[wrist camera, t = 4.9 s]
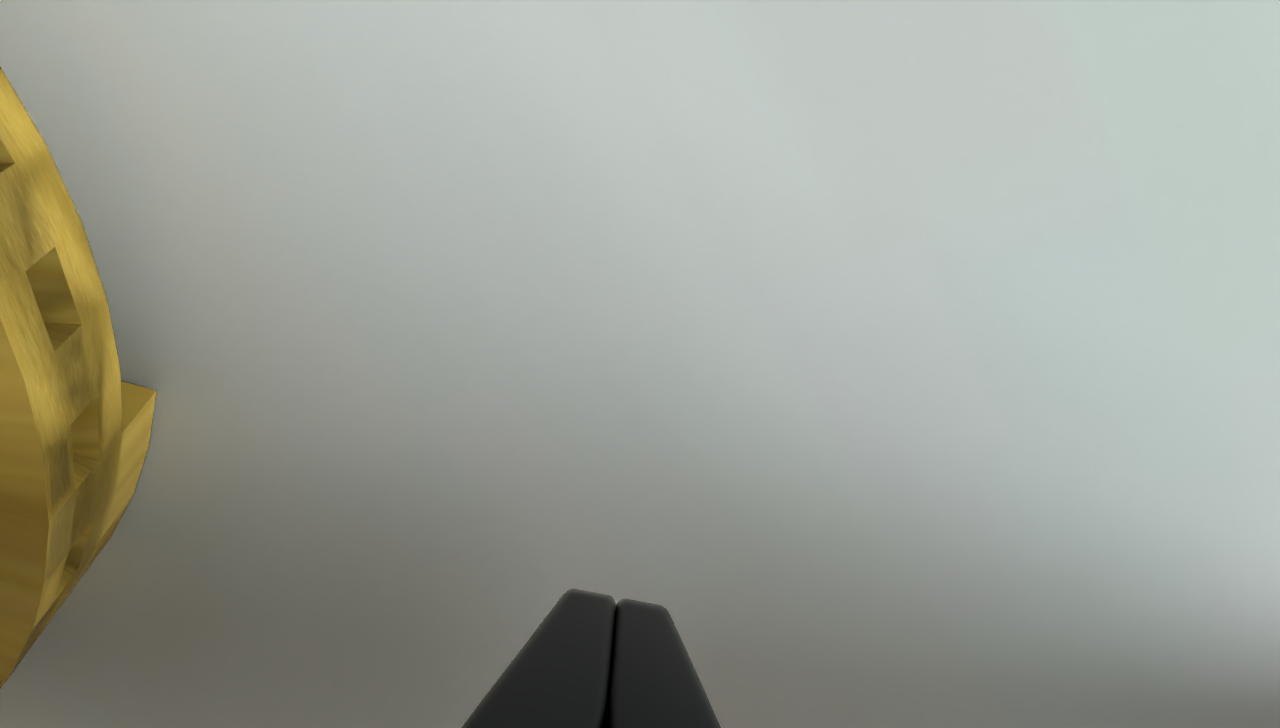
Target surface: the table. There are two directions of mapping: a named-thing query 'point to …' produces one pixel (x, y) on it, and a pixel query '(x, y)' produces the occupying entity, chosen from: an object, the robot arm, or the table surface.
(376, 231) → the table surface
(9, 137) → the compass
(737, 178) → the table surface
